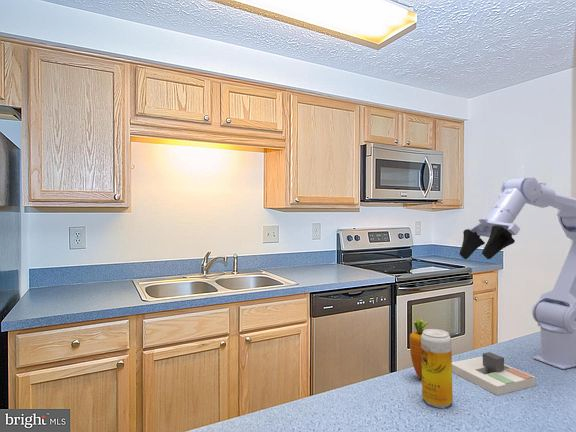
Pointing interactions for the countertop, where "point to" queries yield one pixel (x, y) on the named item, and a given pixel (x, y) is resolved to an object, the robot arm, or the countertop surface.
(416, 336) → the carrot
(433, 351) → the beer can
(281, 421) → the countertop surface
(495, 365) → the switch handle
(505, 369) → the switch board
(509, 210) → the robot arm
